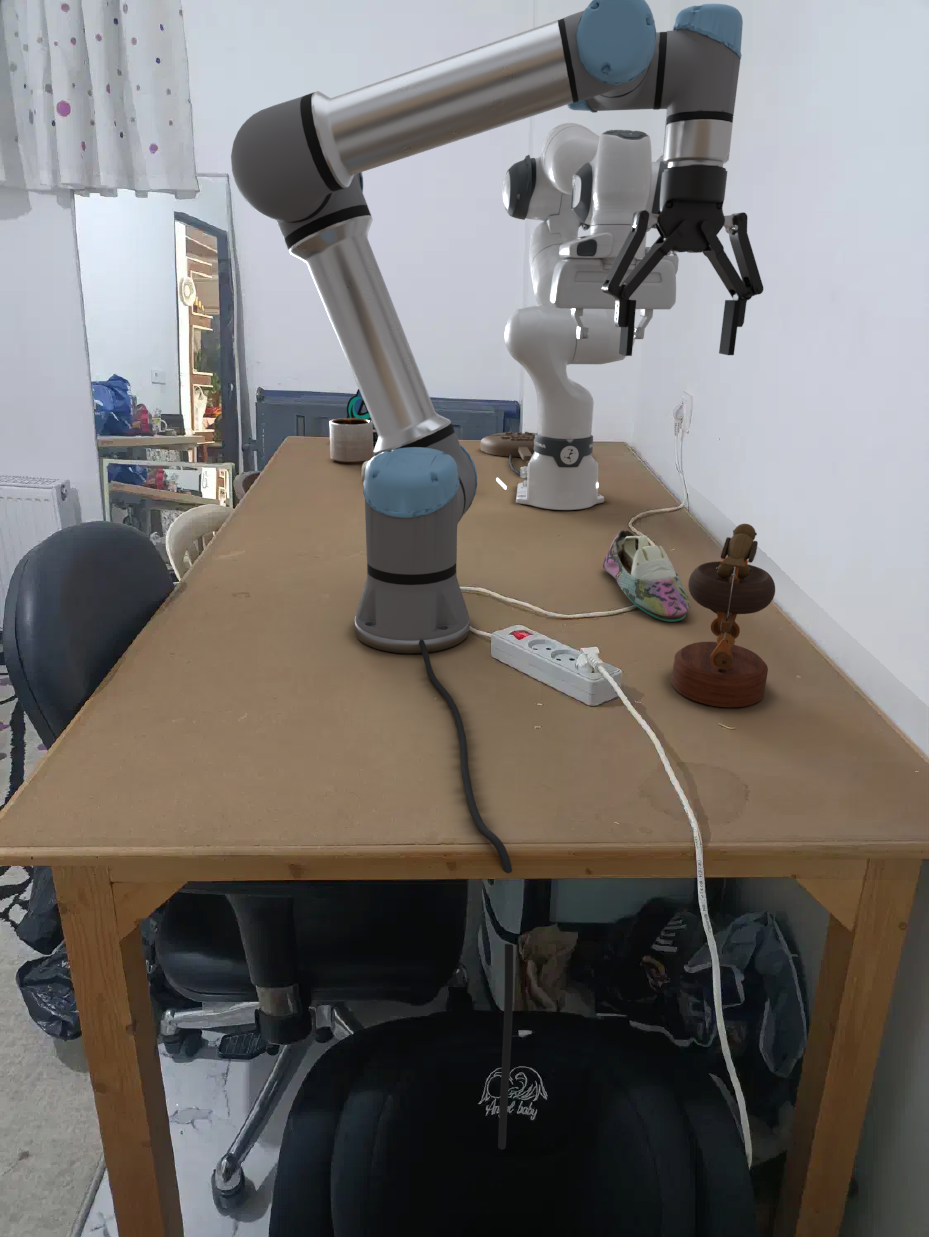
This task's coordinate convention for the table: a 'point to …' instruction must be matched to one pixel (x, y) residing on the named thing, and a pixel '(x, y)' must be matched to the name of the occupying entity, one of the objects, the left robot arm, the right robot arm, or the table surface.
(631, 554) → the colourful slip-on shoe
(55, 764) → the table surface
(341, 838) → the table surface
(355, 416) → the decorative sign
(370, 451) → the planter
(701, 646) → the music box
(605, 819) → the table surface
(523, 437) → the ice cream bar
